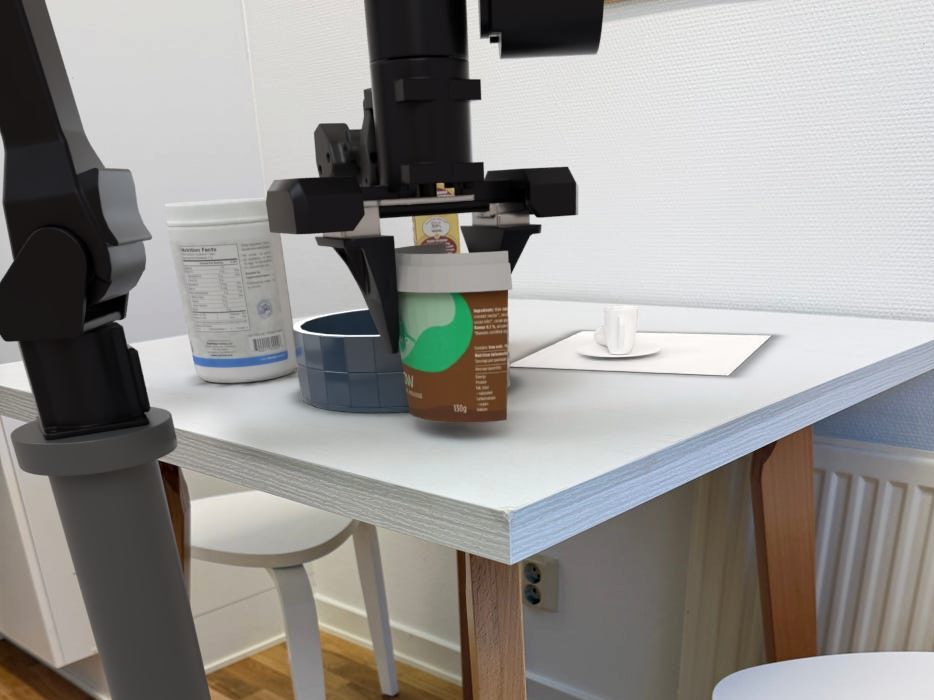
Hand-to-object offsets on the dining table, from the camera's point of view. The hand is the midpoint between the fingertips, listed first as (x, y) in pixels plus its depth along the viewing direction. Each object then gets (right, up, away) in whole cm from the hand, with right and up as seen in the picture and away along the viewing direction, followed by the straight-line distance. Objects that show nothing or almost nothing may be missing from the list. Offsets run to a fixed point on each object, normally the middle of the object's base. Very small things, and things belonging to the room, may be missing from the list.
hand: (437, 347), depth 57 cm
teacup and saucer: (+19, +8, +26) cm, 33 cm away
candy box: (-1, +9, +30) cm, 32 cm away
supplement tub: (-19, +6, +25) cm, 32 cm away
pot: (-3, +2, +16) cm, 16 cm away
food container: (0, -4, +2) cm, 4 cm away
